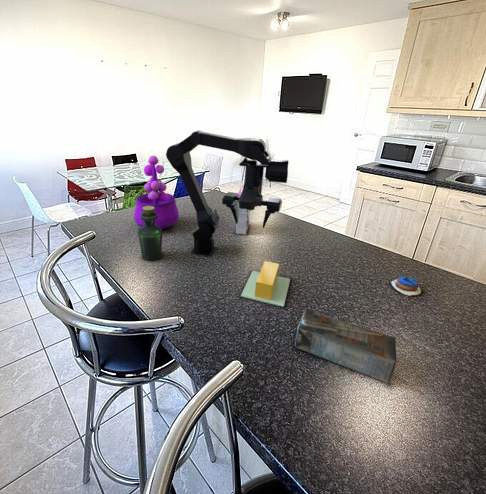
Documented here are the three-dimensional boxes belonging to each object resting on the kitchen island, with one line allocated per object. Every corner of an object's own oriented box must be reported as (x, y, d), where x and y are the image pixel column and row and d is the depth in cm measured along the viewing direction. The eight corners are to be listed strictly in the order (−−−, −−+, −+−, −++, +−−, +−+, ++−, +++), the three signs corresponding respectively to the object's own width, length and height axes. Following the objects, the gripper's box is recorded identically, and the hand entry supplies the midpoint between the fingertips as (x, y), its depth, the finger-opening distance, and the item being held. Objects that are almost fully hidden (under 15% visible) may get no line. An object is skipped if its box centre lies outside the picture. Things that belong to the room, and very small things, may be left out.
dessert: (405, 295, 83) (402, 274, 84) (387, 295, 89) (385, 275, 90) (429, 295, 84) (426, 274, 85) (410, 295, 91) (407, 275, 92)
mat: (240, 296, 82) (240, 295, 82) (252, 271, 94) (252, 270, 94) (283, 307, 78) (283, 306, 78) (290, 279, 90) (290, 278, 90)
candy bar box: (237, 223, 130) (239, 188, 123) (249, 224, 129) (251, 189, 123) (234, 234, 120) (236, 195, 113) (246, 235, 119) (249, 197, 113)
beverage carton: (301, 326, 72) (305, 304, 69) (390, 358, 64) (398, 335, 61) (293, 348, 66) (297, 325, 63) (390, 386, 57) (400, 362, 55)
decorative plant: (126, 229, 122) (118, 157, 110) (150, 214, 138) (146, 150, 125) (165, 238, 115) (161, 162, 103) (186, 221, 131) (185, 153, 119)
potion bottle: (165, 260, 100) (163, 211, 92) (141, 263, 97) (136, 213, 90) (161, 249, 107) (159, 202, 100) (139, 252, 104) (134, 204, 97)
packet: (263, 274, 92) (264, 261, 90) (277, 277, 91) (279, 263, 89) (254, 296, 82) (256, 281, 80) (270, 300, 80) (272, 285, 78)
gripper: (217, 183, 88) (215, 230, 94) (279, 190, 82) (273, 240, 89) (228, 175, 98) (226, 218, 104) (284, 181, 92) (279, 226, 98)
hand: (249, 225), depth 98 cm, fingers open, 9 cm apart
